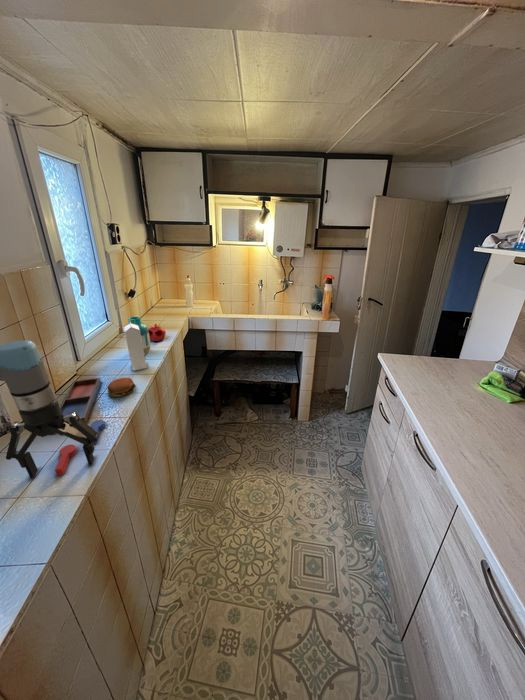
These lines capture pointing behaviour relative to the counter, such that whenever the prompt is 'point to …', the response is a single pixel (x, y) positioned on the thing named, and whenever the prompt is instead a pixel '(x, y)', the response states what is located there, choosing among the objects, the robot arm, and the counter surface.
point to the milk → (135, 347)
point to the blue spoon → (97, 426)
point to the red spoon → (65, 458)
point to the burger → (121, 387)
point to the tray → (80, 398)
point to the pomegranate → (156, 333)
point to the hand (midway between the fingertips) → (63, 467)
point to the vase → (142, 332)
